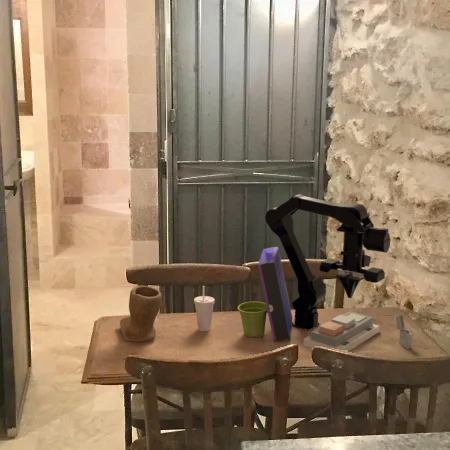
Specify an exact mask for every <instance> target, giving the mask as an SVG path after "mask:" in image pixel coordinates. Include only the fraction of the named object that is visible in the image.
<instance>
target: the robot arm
mask: <svg viewBox="0 0 450 450" xmlns="http://www.w3.org/2000/svg"><path fill="white" fill-rule="evenodd" d="M299 210H300V211H305V212H309V213H312V214H317V215H321V216H325V217H329V218H332V219H334V220H336V221H338V223H341V225H340V226H339V227H338V228H336V232H341V233H343V243H342V250H340V255H341V256H342V261H340V260H338V259H334V258H327V259H325V260H323V261H321V262H320V264H319V271H320V272H322V273H330V272H331V271H332V270H334V271H337V274H336V278H338V279H339V281H340V283H341V285H342V286H343V289H344V291H345V294H346V296H347V298H348V299H352V298H353V296H354V294H355V291H356V290H357V287H358V285H359V283H360V282H361V281H363V280H365V282H368V283H369V282H370V283H373V284H374V283H375V284H376V283H379V282H381V281H383V280H384V279H385V274H386V272H385V271H384V269H382V268H379V267H374V266H373V267H370V264H371V260H372V256H371V255H367V254H366V252H365V249H366V251H371V252H379V253H384V254H386V253H388V251H389V249H390V246H391V237H390V233H389V228H385V227H384V228H378V227H375V225H374V223H373V222H372V220H371V219H370V217H369V215H368V211H367V208H366V207H365V205H363V204H361V203H349V202H348V203H336V202H332V201H327V200H322V199H319V198H314V197H309V196H307V195H303V194H301V193H300V194H296V195H293V196H291V197H290V198H289V199H288V200H287V201H285V202H283V203H282V204H281V205H280V204H279V206H276V207H273V208H271V209H268V210H267V212H266V213H265V216H264V219H265V223H266V225H267V226H268V227H269V229H270V230H271V232H273V234H274V235H276V236H277V237H278V239H279V241H280V243H281V245H282V248H283V251H284V252H285V254H286V256H287V259H288V261H289V264H290V266H291V268H292V271H293V272H294V275H295V277H296V280H297V293H298V297H297V298H296V299H295V300H294V301H293V302H292V303H291V305H292V308H293V309H294V322H292V326H291V327H295V328H300V329H302V330H306V331H310V330H312V329H314V328H316V327H319V326H320V322H319V312H318V307H317V306H318V305H319V304H320V301H322V300H324V298H325V296H326V290H325V289H326V288H327V287H326V286H325V285H324V283H323V279H322V277H321V276H318V277H316V275H315V274H313V273H312V270H311V269H310V267H309V264H308V262H307V260H306V258H305V254H304V253H303V251H302V249H301V246H300V243H299V240H298V239H297V237H296V235H295V232H294V220H293V215H294V214H296V213H297V212H298V211H299ZM364 248H365V249H364ZM365 267H367V269H365ZM363 268H364V269H363Z"/></svg>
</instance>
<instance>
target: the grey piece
mask: <svg viewBox="0 0 450 450" xmlns="http://www.w3.org/2000/svg"><path fill="white" fill-rule="evenodd" d="M351 313H353V314H357V315H360V316H364V317H366V319H364V320H362V321H361V322H359V323H357V322H355V325H354V326H352V327H350V328H349V329H347V330H346V329H343V332H342V333H340V334H338V335H337V336H335V337H333V336H330V335H327V334H323V333H320V332H319V327H317V328H316V329H313V330H312V331H310V335H308V336H307V337H305V338H303V346H305V347H308V348H311V349H313V348H312V347H314V346H322V347H327V348H334V349H339V350H349V351H351V350H352V348H353V349H354V348H356V347H358V346H359V345H361V344H362V343H363V342H366V341H367V340H369V339H370V338H372V337H373V336H375V335H376V334H378V333H379V332H380V325H378V324H374V317H373V316H370V315H365V314H363V313H358V312H354V311H351V310H349V311H347V312H345V313H343V314H342V315H343V316H347V315H349V314H351ZM329 322H332V320H330V321H329ZM349 351H348V352H349Z"/></svg>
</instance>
